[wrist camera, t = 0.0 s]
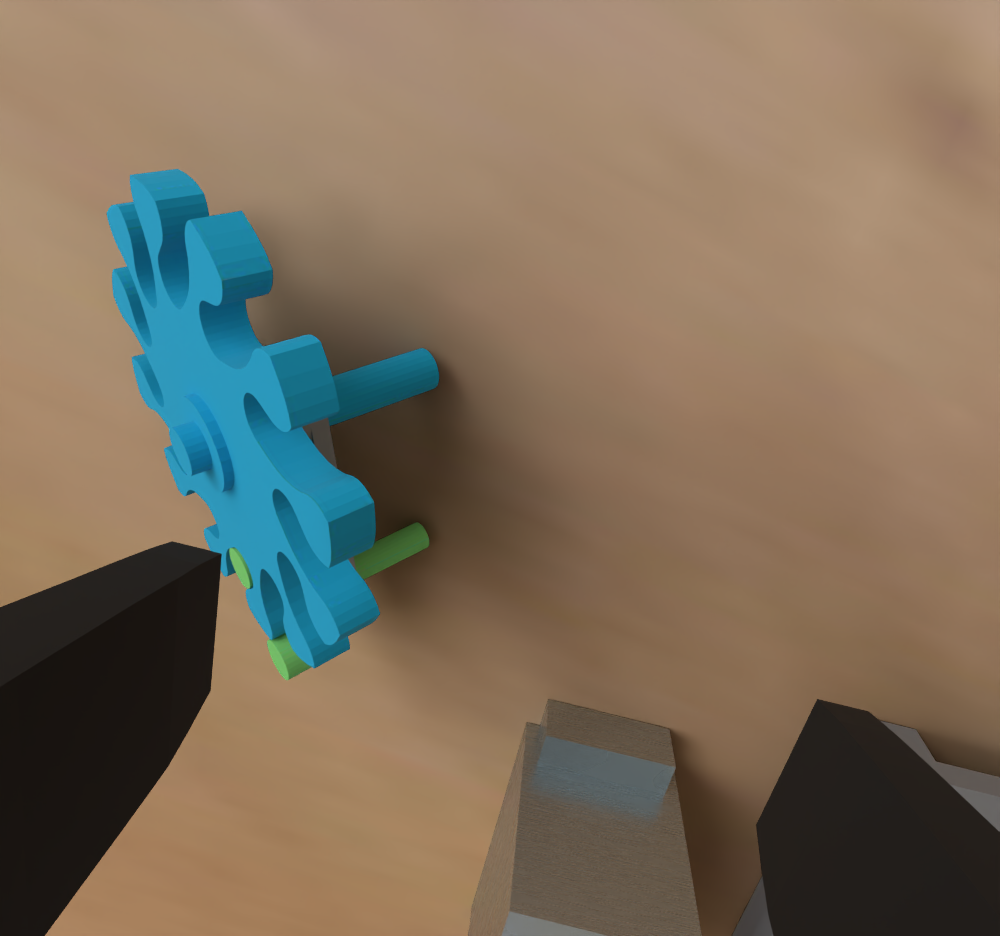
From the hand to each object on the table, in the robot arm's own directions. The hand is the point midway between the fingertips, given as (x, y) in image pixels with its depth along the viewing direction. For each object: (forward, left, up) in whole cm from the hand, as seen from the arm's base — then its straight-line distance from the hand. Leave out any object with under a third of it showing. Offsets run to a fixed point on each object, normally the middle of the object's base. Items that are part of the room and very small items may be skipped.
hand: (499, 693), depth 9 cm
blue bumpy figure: (-1, +6, -10) cm, 12 cm away
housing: (-13, -4, -10) cm, 17 cm away
